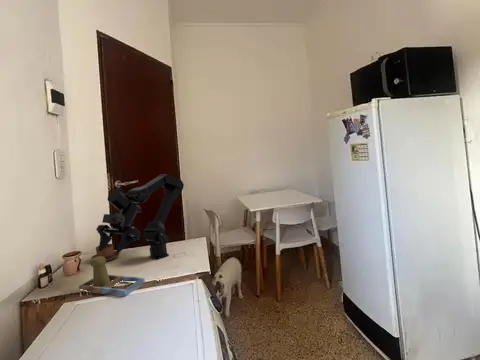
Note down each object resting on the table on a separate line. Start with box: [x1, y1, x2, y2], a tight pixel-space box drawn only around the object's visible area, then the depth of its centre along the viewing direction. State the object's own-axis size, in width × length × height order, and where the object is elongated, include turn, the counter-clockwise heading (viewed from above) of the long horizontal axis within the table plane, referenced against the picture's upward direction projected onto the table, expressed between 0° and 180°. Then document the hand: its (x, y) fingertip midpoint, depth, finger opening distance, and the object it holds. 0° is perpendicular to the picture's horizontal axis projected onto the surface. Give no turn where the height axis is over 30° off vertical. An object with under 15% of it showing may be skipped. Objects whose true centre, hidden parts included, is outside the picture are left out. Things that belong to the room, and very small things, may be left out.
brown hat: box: [90, 243, 120, 262], centre depth 155 cm, size 12×12×6 cm
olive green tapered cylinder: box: [90, 256, 111, 287], centre depth 124 cm, size 6×6×11 cm
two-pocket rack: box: [78, 274, 146, 297], centre depth 122 cm, size 20×11×2 cm, turn 68°
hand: (108, 251), depth 127 cm, fingers open, 9 cm apart
